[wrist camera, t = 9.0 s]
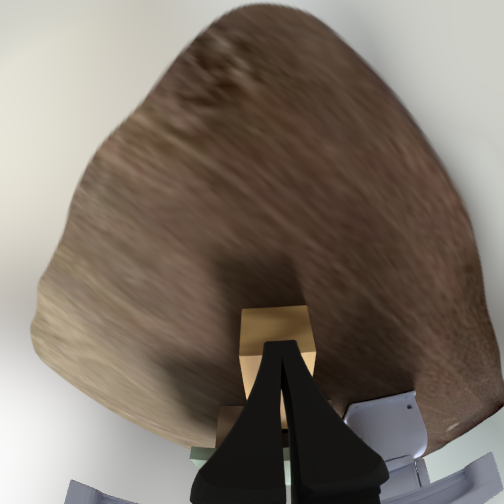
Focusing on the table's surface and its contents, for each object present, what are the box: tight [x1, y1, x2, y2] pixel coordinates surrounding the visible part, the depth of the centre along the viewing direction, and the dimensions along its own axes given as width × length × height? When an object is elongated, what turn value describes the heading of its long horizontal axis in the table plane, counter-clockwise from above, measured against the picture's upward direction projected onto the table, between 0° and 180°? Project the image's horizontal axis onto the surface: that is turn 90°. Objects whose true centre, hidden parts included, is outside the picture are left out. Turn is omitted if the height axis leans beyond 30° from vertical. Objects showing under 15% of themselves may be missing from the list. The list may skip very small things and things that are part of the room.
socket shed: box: [190, 400, 363, 485], centre depth 27 cm, size 17×12×8 cm
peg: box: [239, 305, 316, 429], centre depth 22 cm, size 5×12×5 cm, turn 4°
